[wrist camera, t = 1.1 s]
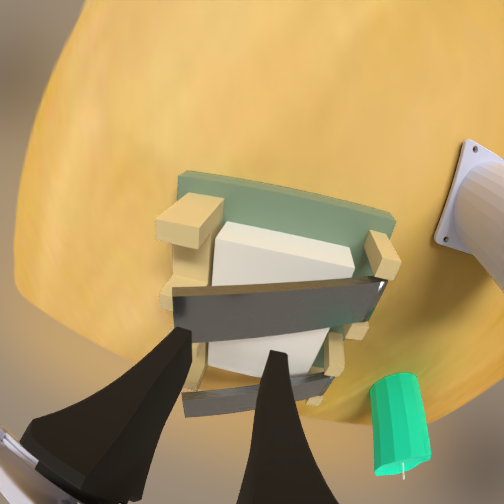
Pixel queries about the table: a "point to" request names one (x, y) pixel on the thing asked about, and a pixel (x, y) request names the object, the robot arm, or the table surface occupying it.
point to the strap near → (274, 307)
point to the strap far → (248, 396)
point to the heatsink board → (295, 215)
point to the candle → (398, 425)
